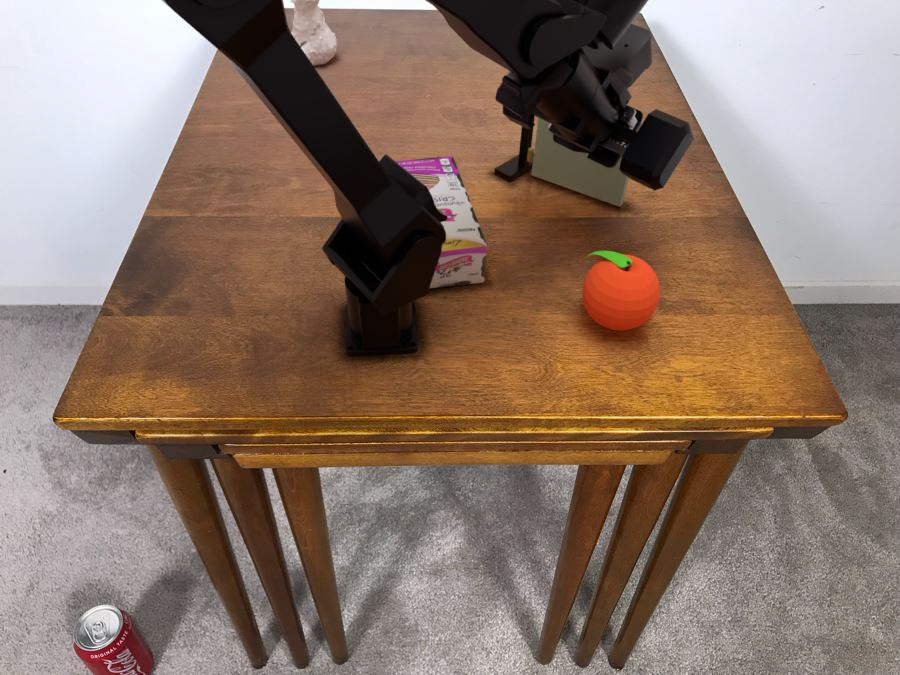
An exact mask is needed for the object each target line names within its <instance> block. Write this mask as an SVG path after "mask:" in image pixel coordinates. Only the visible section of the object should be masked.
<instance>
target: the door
mask: <svg viewBox="0 0 900 675" xmlns="http://www.w3.org/2000/svg"><path fill="white" fill-rule="evenodd" d="M642 123H643V122H642ZM642 123H641V125H642ZM549 124H550V123H549V122H547V121H545V120H543V119H540V118H538V117H537V124H536V133H535V141H534V148H533V149H534V158H533V166H532V169H531V176H532V177H535V178H538V179H540V180H544V181H546V182H549V183H551V184H555V185H557V186H561V187H563V188H566V189H568V190H571V191H574V192H577V193H580V194H583V195H585V196H588V197H591V198H594V199H596V200H599V201H602V202H604V203H607V204H611V205H613V206H615V207H619V208H620V207H622V205H623V204H624V201H625V198H626V193H627V188H628V183H629V180H630V178H629V177H627V176H626V175H624V174H623V173H622V172H621V171H620V170H619V168H620V163H621V158H622V156H621V158H620V159H619V161H618V163H617V164H616V165H615V166H614V167H613V168H607V167H605V166H603V165H601V164H599V163H597V162H594V161H592V160H590V159H588V158H587V156H588V155H589V153H581V152H575V151H572V150H570V149H568V148H566V147H564V146H562V145H559V144H557V143H555V142H554V140H553V135H554V134H552V133H551V132H550V131H549V130H548V129H549V128H548V125H549ZM641 125H640V127H641ZM640 127H639V128H640ZM639 128H638V130H639ZM638 130H637V131H638ZM628 146H629V145H628Z"/></svg>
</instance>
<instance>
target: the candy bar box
mask: <svg viewBox="0 0 900 675" xmlns="http://www.w3.org/2000/svg"><path fill="white" fill-rule="evenodd" d="M395 161H396V162H397V163H398V164H399V165H400V166H402V167H403V168H404V169H405V170H407V171H408V172H409V173H410V174H411V175H413V176H414V177H415V178H416V179H418V180H419V181H420V182H421V183H423V184H424V185H425V186H426V187H427V188H428V190H429V192H430V193H431V195H432V198H433V201H434V204H435V206H436V208H437V209H439V210H440V211H441V212H442V213H443V214H445V215H446V216H447V217H448V218H447V220H446V221H443V222H440V223H441V224H442V225H443V226H444V229H445V232H446V242H445V243H443V244H442V251H441V255H440V258H439V261H438V264H437V267H436V270H435V273H434V276H433V279H432V282H431V284H430V287H429V289H435V288H436V289H437V288H445V287H446V288H447V287H455V286H456V287H457V286H464V285H472V284H473V285H475V284H482V283H485V276H486V260H487V259H486V258H487V256H488V255H487V254H488V244H487V241H486V239H485V235H484V234H483V231H482V229H481V226H480V223H479V221H478V218H477V215H476V212H475V211H474V208H473V205H472V203H471V200H470V197H469V195H468V192H467V189H466V187H465V184H464V182H463V179H462V177H461V174H460V171H459V169H458V165H457V163H456V160H455V158H454V156H453V155H447V156H437V157H425V158H415V159H405V160H404V159H403V160H395Z"/></svg>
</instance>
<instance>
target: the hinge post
mask: <svg viewBox="0 0 900 675" xmlns="http://www.w3.org/2000/svg"><path fill="white" fill-rule="evenodd" d="M535 117H536V116H534V117H533V119H532V122H533V123H534V124H535ZM520 130H521V131H520V140H519V141H520V142H519V150H518V151H519V152H518V155H516V156H514V157H512V158H510V159H508V160H507V161H505V162H503V163H502V164H499V165H498V166H496V167H495V168H494V175H495V176H497V177H499V178H501V179H503V180H505V181H506V182H508V183H510V182H512V181H514V180H515V179H517V178H519V177H520V176H522V175H524V174H526V173H527V172H529V171H532V166H533V158H534V149H535V148H533V147H532V144H533V137H534V136H533V135H534V128H533V129H532V130H529V129H527V128H525V127H523V126H521V129H520Z"/></svg>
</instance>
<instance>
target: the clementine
mask: <svg viewBox="0 0 900 675" xmlns="http://www.w3.org/2000/svg"><path fill="white" fill-rule="evenodd" d="M590 256H598V257H603V259H601V260H599V261H597V262H596V263H595V264H594V265H592V267H591V268H590V269H589V270H588V271H587V273H586V276H585V278H584V280H583V283H582V296H581V298H582V299H581V300H582V302H583V305H584V308H585V310H586V313H587V314H588V315H589V316H590V318H591V319H592V320H593V321H594V322H596V323H597V324H598V325H599V326H601V327H603V328H605V329H609V330H612V331H628V330H631V329H635V328H638V327H639V326H642V325H643V324H645V323H646V322H647V321H648V320H649V319H651V317H652V316H653V315H654V314H655V312H656V310H657V308H658V306H659V302H660V300H661V299H660V298H661V285H660V281H659V277H658V276H657V274H656V272H655V271H654V269H653V267H651V265H650V264H649V263H648V262H646V261H645V260H643V259H641V258H639V257H637V256H635V255H631V254H624V253H621V252H616V251H611V250H596V251H594V252H592V253H590V254H588V255H587V256H586V257H585V258H584V259H583V260H582V261H583V262H584V261H585V260H586V259H587V258H588V257H590Z"/></svg>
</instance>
